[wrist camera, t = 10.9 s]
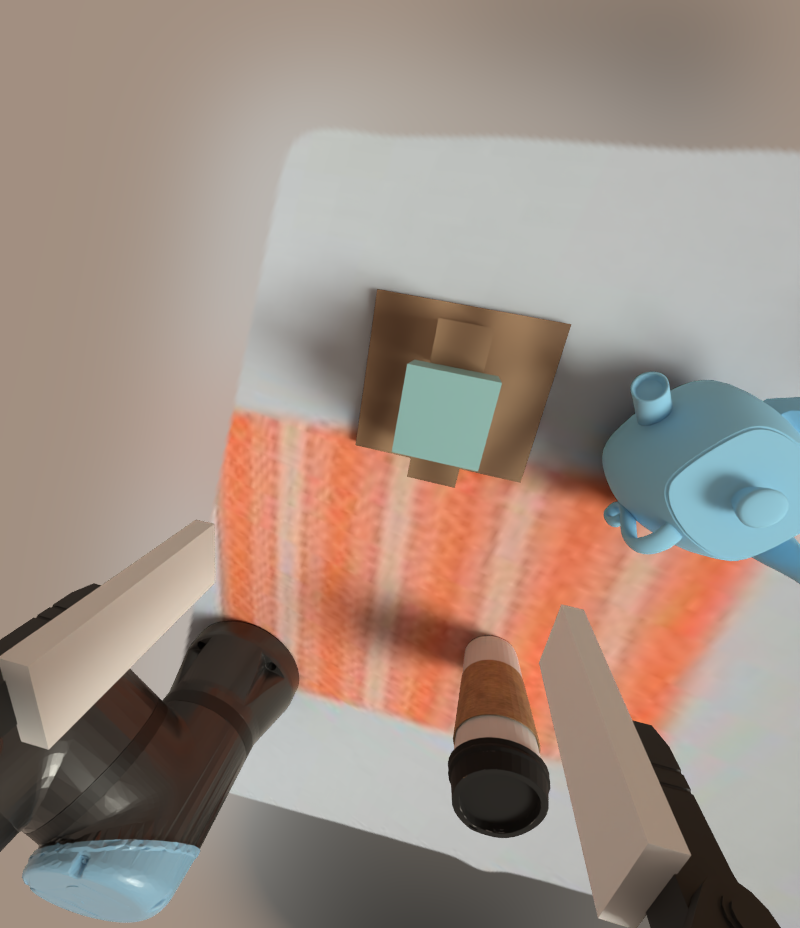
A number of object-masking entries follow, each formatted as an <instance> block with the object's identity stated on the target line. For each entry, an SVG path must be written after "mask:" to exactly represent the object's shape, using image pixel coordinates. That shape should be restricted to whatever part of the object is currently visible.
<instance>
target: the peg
mask: <svg viewBox="0 0 800 928" xmlns="http://www.w3.org/2000/svg"><path fill="white" fill-rule="evenodd" d="M501 385H502V382H501V380H500V378H499V377H498V376H494V375H489V374H484V373H479V372H474V371H469V370H464V369H459V368H454V367H449V366H444V365H439V364H434V363H429V362H424V361H419V360H413V361H411V362H410V363H408V364H407V368H406V374H405V380H404V385H403V391H402V397H401V402H400V408H399V414H398V419H397V425H396V430H395V436H394V442H393V447H392V452H394V453H398V454H403V455H407V456H411V457H416V458H420V459H425V460H429V461H433V462H438V463H442V464H447V465H451V466H455V467H460V468H464V469H469V470H473V471H477V472H478V470H479V466H480V462H481V459H482V455H483V451H484V448H485V444H486V440H487V437H488V433H489V429H490V426H491V422H492V418H493V415H494V411H495V407H496V404H497V400H498V396H499V393H500V389H501Z"/></svg>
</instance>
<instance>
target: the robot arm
mask: <svg viewBox="0 0 800 928" xmlns="http://www.w3.org/2000/svg"><path fill="white" fill-rule="evenodd" d="M214 583H215V530H214V524H213V523H208V522H204V521H200V520H195V521H193V522H192V523H190V524H189V525H188V526H186V527H185V528H183V529H182V530H181V531H179V532H177V533H176V534H175V535H173V536H172V537H170V538H169V539H167V540H166V541H165V542H163V543H162V544H160V545H159V546H157V547H156V548H154V549H153V550H152V551H150V552H149V553H147V554H146V555H144V556H143V557H142V558H140V559H139V560H137V561H136V562H134V563H133V564H131V565H130V566H129V567H127V568H126V569H124V570H123V571H121V572H120V573H119V574H117V575H116V576H114V577H113V578H111V579H110V580H108V581H107V582H106V583H104V584H103V585H97V584H92V585H89V586H87V587H84V588H82V589H79V590H77V591H74V592H72V593H70V594H69V595H67V596H66V597H64V598H63V599H61V600H60V601H58V602H57V603H55V604H54V605H53V607H52V608H48V609H46V610H45V611H43V612H42V613H40V614H39V615H38V616H37V618H32V619H31V620H29V621H28V622H26V623H25V624H23V625H22V626H20V627H19V628H17V629H16V630H14V631H13V632H11V633H10V634H8V635H7V636H5V637H4V638H2V639H1V640H0V852H1V850H2V849H3V848H4V847H5V846H6V845H7V844H8V843H9V842H10V841H11V840H12V839H13V838H14V837H15V836H16V835H17V834H18V833H19V832H20V831H22V832H23V833H25V834H26V835H28V836H29V837H30V838H31V839H32V840H34V841H35V842H36V843H37V844H38V845H39V848H38V849H37V850H36V851H34V852H33V854H32V855H31V856H30V858H29V861H28V864H27V865H26V866H25V869H24V870H23V876H22V878H23V881H24V883H25V884H27V885H29V886H30V889H31V890H32V891H33V892H34V893H35V894H36V895H38V896H39V897H41V898H43V899H44V900H46V901H48V902H50V903H52V904H54V905H57V906H59V907H61V908H64V909H66V910H69V911H72V912H75V913H77V914H80V915H84V916H87V917H91V918H96V919H100V920H106V921H112V922H138V921H142V920H146V919H148V918H151V917H152V916H154V915H156V914H157V913H158V912H160V911H161V910H162V909H163V908H164V907H165V906H166V905H167V904H168V903H169V901H170V900H171V898H172V897H173V895H174V893H175V892H176V890H177V888H178V887H179V885H180V883H181V882H182V880H183V878H184V877H185V875H186V873H187V871H188V870H189V868H190V866H191V865H192V863H193V861H194V860H195V859H196V858H197V857H198V855H199V853H200V848H201V846H202V843H203V842H204V840H205V838H206V836H207V834H208V832H209V830H210V828H211V826H212V824H213V822H214V820H215V819H216V817H217V815H218V812H219V811H220V809H221V807H222V805H223V803H224V801H225V799H226V797H227V795H228V793H229V791H230V789H231V787H232V785H233V784H234V782H235V780H236V778H237V776H238V774H239V772H240V770H241V768H242V766H243V764H244V762H245V760H246V758H247V756H248V754H249V752H250V751H251V749H252V747H253V745H254V744H255V742H256V741H257V740H258V739H259V738H260V737H261V736H262V735H263V734H264V733H265V732H266V731H267V730H268V729H269V727H270V726H271V725H272V724H273V723H274V722H275V721H276V720H277V719H278V718H279V717H280V716H281V715H282V714H283V713H284V711H285V710H286V709H287V708H288V706H289V705H290V703H291V701H292V699H293V696H294V694H295V692H296V690H297V688H298V684H299V673H298V668H297V665H296V663H295V661H294V659H293V657H292V655H291V654H290V652H289V651H288V650H287V649H286V647H285V646H284V645H283V644H282V643H281V642H280V641H279V640H277V639H276V638H275V637H274V636H272V635H271V634H269V633H268V632H266V631H264V630H262V629H260V628H258V627H256V626H253V625H250V624H247V623H243V622H237V621H224V622H219V623H215V624H213V625H211V626H209V627H207V628H206V629H205V630H204V631H203V632H202V633H201V634H200V635H199V636H198V637H197V639H196V640H195V641H194V642H193V643H192V644H191V646H190V648H189V649H188V651H187V653H186V656H185V658H184V660H183V662H182V665H181V667H180V669H179V672H178V674H177V676H176V678H175V681H174V683H173V685H172V687H171V690H170V692H169V693H168V694H167V696H166V697H165V698H164V699H163V701H162V700H161V699H160V698H159V697H158V696H157V695H156V694H155V693H154V692H153V691H152V690H151V689H150V688H149V687H148V686H147V685H146V684H145V683H144V682H143V681H142V680H141V679H140V678H139V677H138V676H137V675H136V674H135V673H134V672H133V671H132V670H131V669H130V668H131V667H132V666H133V664H134V663H136V662H137V661H138V660H139V658H141V657H142V655H143V654H145V652H147V651H148V650H149V649H150V647H151V646H153V645H154V644H155V642H157V641H158V640H159V639H160V638H161V637H162V635H164V633H165V632H166V631H167V630H168V629H169V628H170V627H171V626H172V625H173V624H174V623H175V622H176V621H177V620H178V619H179V618H180V617H181V616H182V615H183V614H184V613H185V612H186V611H187V610H188V609H189V608H190V607H191V606H192V605H193V604H194V603H195V602H196V601H197V600H198V599H199V598H200V597H201V596H202V595H203V594H204V593H205V592H206V591H207V590H208V589H209V588H210V587H211V586H212V585H213V584H214ZM539 665H540V669H541V673H542V678H543V682H544V686H545V691H546V695H547V699H548V704H549V708H550V712H551V717H552V721H553V725H554V730H555V734H556V738H557V743H558V747H559V751H560V755H561V760H562V764H563V768H564V773H565V777H566V781H567V786H568V790H569V794H570V799H571V803H572V807H573V812H574V816H575V820H576V825H577V829H578V833H579V838H580V842H581V846H582V851H583V855H584V859H585V864H586V868H587V872H588V876H589V881H590V885H591V889H592V894H593V898H594V902H595V907H596V911H597V915H598V918H599V919H603V920H606V921H609V922H612V923H616V924H619V925H622V926H626V927H629V928H637V927H638V925H639V924H640V923H641V922H642V920H643V919H644V918H645V916H646V915H647V918H648V920H649V924H650V927H651V928H781V927H780V926H779V925H778V923H777V922H776V920H775V919H774V917H773V916H772V915H771V913H770V912H769V910H768V909H767V908H766V907H765V906H764V905H763V904H762V903H761V902H760V901H759V900H758V899H757V898H756V897H755V896H754V894H753V893H752V892H750V891H749V890H748V889H746V888H745V887H744V886H742V885H741V884H739V883H738V882H737V880H736V878H735V877H734V875H733V873H732V871H731V869H730V867H729V865H728V863H727V861H726V859H725V857H724V855H723V853H722V851H721V849H720V847H719V845H718V843H717V841H716V839H715V837H714V835H713V833H712V831H711V829H710V827H709V825H708V823H707V821H706V819H705V817H704V815H703V813H702V811H701V809H700V807H699V805H698V803H697V801H696V799H695V797H694V795H692V794H691V792H690V791H691V789H690V787H689V785H688V783H687V781H686V779H685V777H684V775H682V774H681V769H680V767H679V765H678V763H677V761H676V759H675V757H674V755H673V753H672V751H671V749H670V747H669V746H668V745H667V744H666V742H665V741H664V740H663V739H662V737H661V736H660V735H659V734H658V733H657V731H656V730H655V729H654V728H653V727H652V725H648V724H644V723H640V722H636V721H632V719H631V717H630V714H629V712H628V710H627V708H626V705H625V703H624V701H623V698H622V696H621V694H620V692H619V689H618V687H617V685H616V682H615V680H614V678H613V676H612V673H611V671H610V669H609V666H608V664H607V662H606V660H605V657H604V655H603V653H602V650H601V648H600V646H599V644H598V641H597V639H596V637H595V634H594V632H593V630H592V628H591V625H590V623H589V621H588V618H587V616H586V614H585V612H584V610H583V609H578V608H574V607H570V606H565V605H561V607H560V610H559V612H558V615H557V617H556V620H555V623H554V625H553V628H552V630H551V633H550V636H549V638H548V641H547V643H546V646H545V649H544V651H543V654H542V656H541V659H540V662H539Z"/></svg>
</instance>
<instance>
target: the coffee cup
mask: <svg viewBox="0 0 800 928" xmlns="http://www.w3.org/2000/svg"><path fill="white" fill-rule="evenodd" d="M453 742H454V750H453V751H452V753H451V755H450V757H449V761H448V768H449V771H448V775H449V781H450V783H451V790H452V805H453V808H454V811H455V813H456V814H457V816H458V817H459V818H460V820H461V821H462V822H463V823H464V824H465V825H466V826H467V827H469V828H470V829H472V830H474V831H476V832H479V833H481V834H484V835H488V836H492V837H498V838H509V837H515V836H519V835H522V834H524V833H526V832H528V831H530V830H532V829H533V828H535V827H536V826H538V825H539V824H540V823H541V822H542V821H543V819H544V818H545V816H546V815H547V812H548V794H549V790H550V780H549V772H548V769H547V766H546V765H545V763H544V762H543V760H542V759H541V757H540V743H539V739H538V735H537V732H536V728H535V724H534V720H533V716H532V712H531V709H530V705H529V701H528V697H527V693H526V689H525V686H524V682H523V679H522V675H521V670H520V666H519V662H518V658H517V654H516V651H515V649H514V648H513V647H512V645H511V644H510V643H508V642H507V641H505V640H504V639H502V638H499V637H495V636H481V637H478V638H476V639H474V640H472V641H471V642H470V643H469V644H468V645H467V647H466V649H465V655H464V664H463V673H462V679H461V686H460V693H459V700H458V707H457V714H456V722H455V729H454V736H453Z"/></svg>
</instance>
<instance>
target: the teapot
mask: <svg viewBox="0 0 800 928" xmlns="http://www.w3.org/2000/svg"><path fill="white" fill-rule="evenodd" d="M630 390H631V395H632V400H633V404H634V408H635V414H634V415H632V416H631V417H630V418H629V419H628V420H627V421H626V422H624V423H623V424H622V425H621V426H620V427H619V428H618V429H617V430H616V431H615V432H614V433H613V434H612V435H611V437H610V438H609V440H608V441H607V443H606V445H605V447H604V450H603V455H602V464H603V469H604V473H605V477H606V479H607V482H608V485H609V487H610V489H611V491H612V493H613V494H614V496H615V497H616V499H617V500H618V501H617V502H613V503H612V504H610V505H609V506H608V507H607V508H606V509H605V511H604V518H605V520H606V522H607V523H608V524H609V525H610V526H612V527H619V526H621V533H622V537H623V539H624V541H625V542H626V544H627V545H628V546H629V547H630V548H631V549H633V550H634V551H636V552H638V553H642V554H655V553H659V552H662V551H665V550H667V549H669V548H671V547H672V546H673V545H676V546H678V547H680V548H683V549H685V550H687V551H690V552H693V553H697V554H700V555H704V556H708V557H711V558H715V559H721V560H728V561H738V560H743V559H747V558H750V557H752V558H754V559H756V560H757V561H759V562H761V563H763V564H765V565H767V566H769V567H771V568H773V569H775V570H777V571H779V572H781V573H783V574H784V575H786V576H788V577H790V578H791V579H793V580H795V581H796V582H798V583H799V584H800V544H799V543H798V542H797V540H796V539H795V538H794V536H796V535H798V534H800V397H794V398H774V399H766V400H764V401H762V400H760V399H758V398H757V397H755V396H753V395H751V394H750V393H748V392H746V391H744V390H741V389H739V388H737V387H734V386H732V385H730V384H726V383H722V382H718V381H714V380H701V381H694V382H690V383H687V384H684V385H681V386H679V387H677V388H675V389H673V390H671V391H670V387H669V381H668V379H667V377H666V376H665V375H663V374H661V373H659V372H646V373H643V374H641V375H639V376H637V377H636V378H635V379H634V380H633V382H632V384H631V387H630ZM636 521H638V522H639V523H640V524H641V525H643V526H644V527H645V528H647V529H648V530H650V531H651V532H653V533H651V534H649V535H647V536H644V537H640V538H637V530H636Z"/></svg>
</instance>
